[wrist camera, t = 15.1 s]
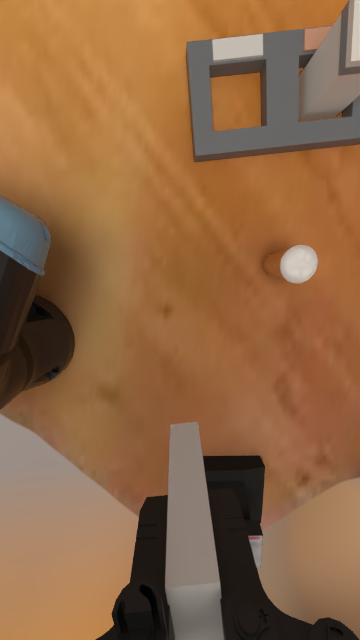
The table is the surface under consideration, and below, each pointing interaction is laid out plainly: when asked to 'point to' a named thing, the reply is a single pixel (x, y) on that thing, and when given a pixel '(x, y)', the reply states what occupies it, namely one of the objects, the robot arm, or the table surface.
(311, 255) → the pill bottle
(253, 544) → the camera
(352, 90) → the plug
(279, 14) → the table surface
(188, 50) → the socket block
